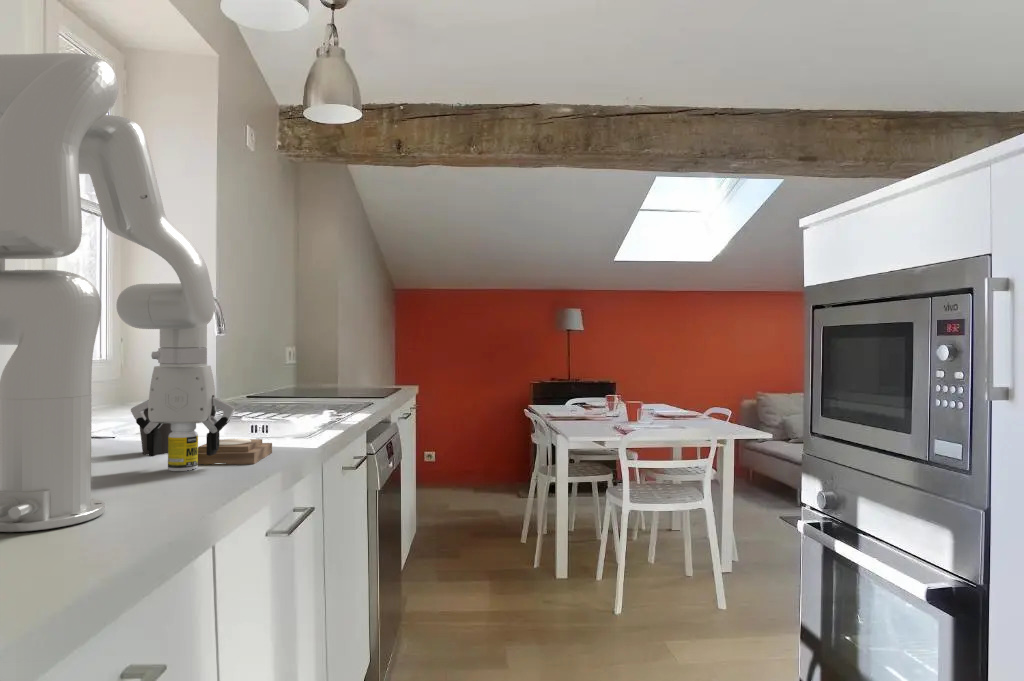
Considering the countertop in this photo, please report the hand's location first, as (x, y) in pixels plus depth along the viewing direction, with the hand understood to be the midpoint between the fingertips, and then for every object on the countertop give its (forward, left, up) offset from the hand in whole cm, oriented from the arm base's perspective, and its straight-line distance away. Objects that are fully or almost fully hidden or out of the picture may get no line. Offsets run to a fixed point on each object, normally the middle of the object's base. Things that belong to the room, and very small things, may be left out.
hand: (183, 454), depth 115 cm
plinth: (+10, -5, -3) cm, 11 cm away
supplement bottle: (0, 0, -3) cm, 3 cm away
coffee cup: (+18, +12, -3) cm, 22 cm away
